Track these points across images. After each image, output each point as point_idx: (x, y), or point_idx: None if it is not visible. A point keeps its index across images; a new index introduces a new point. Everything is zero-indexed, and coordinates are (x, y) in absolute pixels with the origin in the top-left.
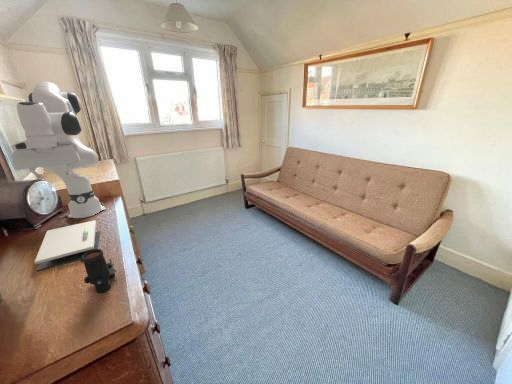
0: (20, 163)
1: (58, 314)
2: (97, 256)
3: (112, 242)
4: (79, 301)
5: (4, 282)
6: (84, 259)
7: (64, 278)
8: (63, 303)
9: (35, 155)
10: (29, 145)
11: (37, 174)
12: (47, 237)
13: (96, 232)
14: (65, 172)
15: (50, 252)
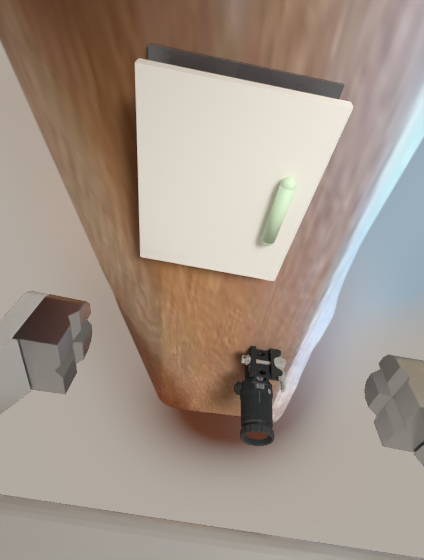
0: None
1: (196, 370)
2: (262, 444)
3: (332, 223)
4: (221, 367)
5: (86, 234)
6: (243, 441)
7: (202, 304)
8: (202, 358)
9: None
10: None
11: (23, 372)
12: (148, 141)
13: (324, 91)
14: (379, 427)
15: (171, 243)
